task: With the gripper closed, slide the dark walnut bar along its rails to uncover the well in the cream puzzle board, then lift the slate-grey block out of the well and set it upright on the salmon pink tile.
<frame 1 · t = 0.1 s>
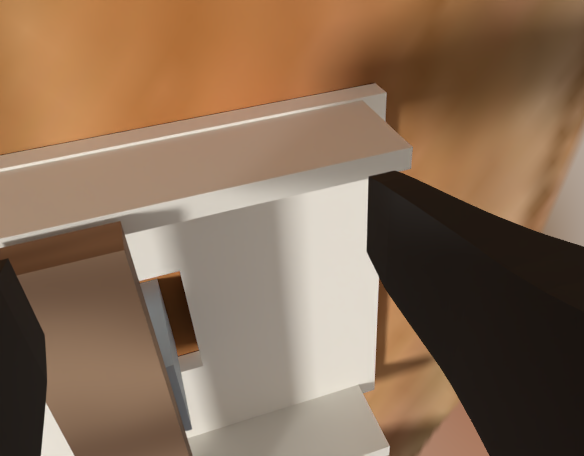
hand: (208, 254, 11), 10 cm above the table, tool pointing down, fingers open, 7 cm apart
sliding bar: (133, 439, 20), point 6 cm above the table, slide at 0.0 cm
slate block: (121, 323, 25), resting in puzzle board
puzzle board: (188, 306, 25), on the table
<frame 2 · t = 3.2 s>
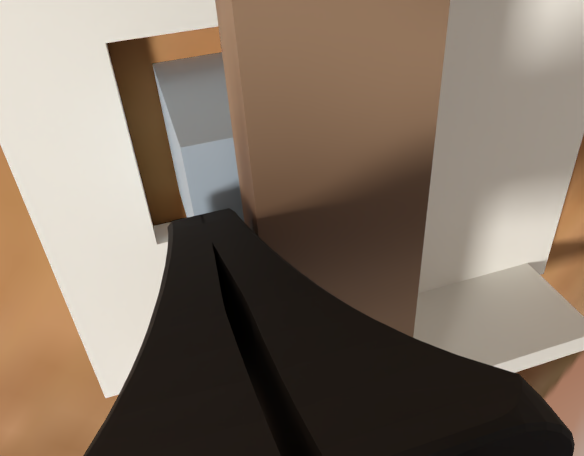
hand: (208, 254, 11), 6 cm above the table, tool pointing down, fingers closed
sliding bar: (333, 229, 12), point 6 cm above the table, slide at 0.7 cm, touching gripper
slate block: (234, 118, 16), resting in puzzle board
puzzle board: (332, 101, 17), on the table
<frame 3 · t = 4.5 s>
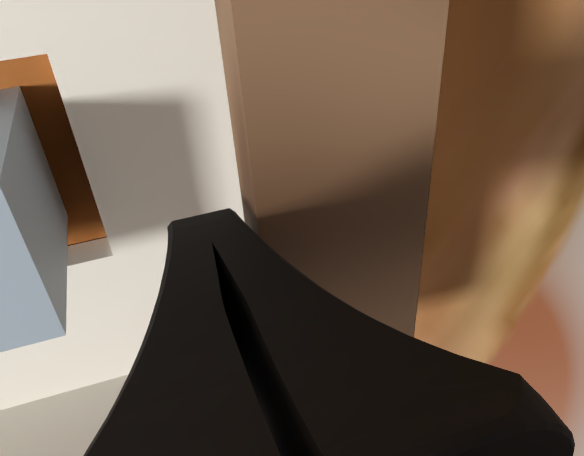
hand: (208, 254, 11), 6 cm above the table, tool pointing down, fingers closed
sliding bar: (334, 229, 12), point 6 cm above the table, slide at 8.0 cm, touching gripper
puzzle board: (83, 149, 15), on the table
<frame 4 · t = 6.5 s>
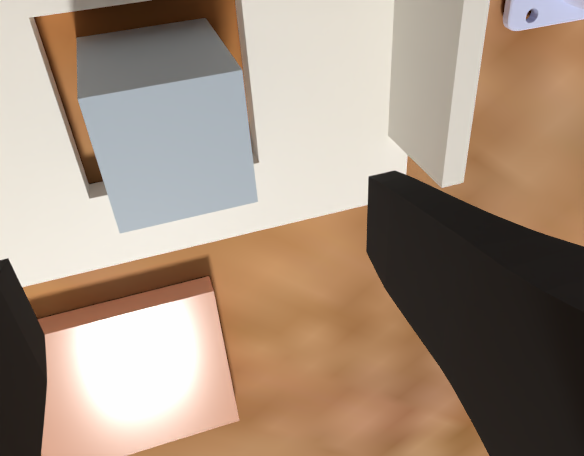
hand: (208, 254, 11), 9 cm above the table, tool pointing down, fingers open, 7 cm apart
salmon pink tile: (127, 373, 25), on the table
slate block: (155, 87, 19), resting in puzzle board
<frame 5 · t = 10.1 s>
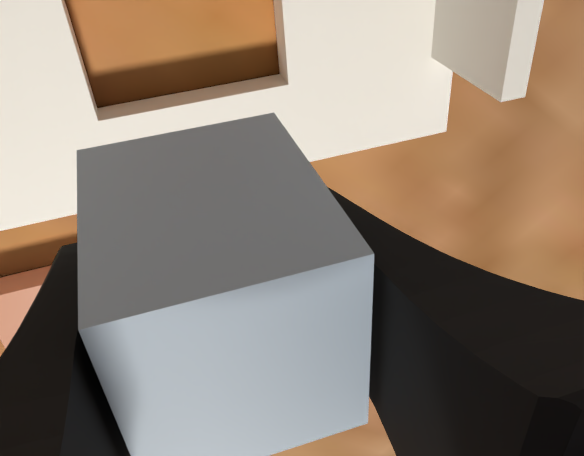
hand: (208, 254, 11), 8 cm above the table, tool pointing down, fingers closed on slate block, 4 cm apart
salmon pink tile: (139, 333, 23), on the table
slate block: (195, 211, 12), point 7 cm above the table, touching gripper
when the fingers open (4 cm above the table, at t = 11.9 s): slate block drops 1 cm, resting on salmon pink tile.
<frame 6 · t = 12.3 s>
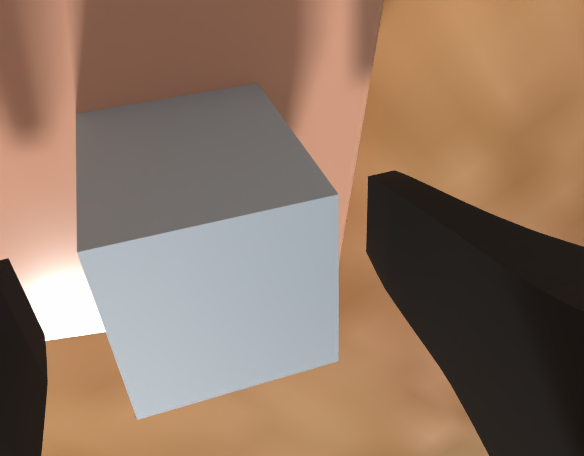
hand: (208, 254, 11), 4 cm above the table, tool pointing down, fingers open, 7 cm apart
salmon pink tile: (179, 164, 14), on the table
slate block: (184, 175, 13), point 1 cm above the table, touching salmon pink tile
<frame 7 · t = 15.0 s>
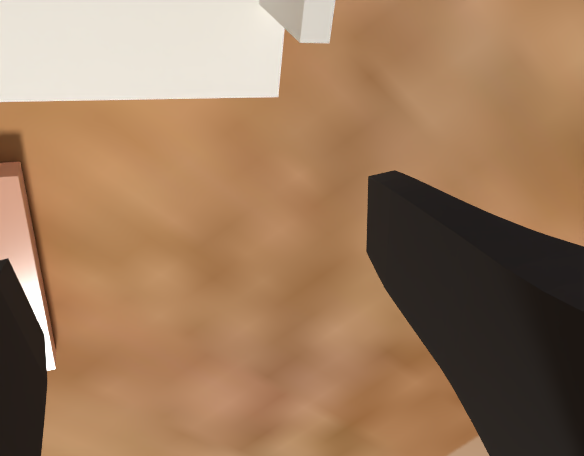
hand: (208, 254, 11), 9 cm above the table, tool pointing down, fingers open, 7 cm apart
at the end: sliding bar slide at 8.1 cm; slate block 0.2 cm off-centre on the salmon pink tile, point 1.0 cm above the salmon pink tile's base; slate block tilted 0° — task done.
